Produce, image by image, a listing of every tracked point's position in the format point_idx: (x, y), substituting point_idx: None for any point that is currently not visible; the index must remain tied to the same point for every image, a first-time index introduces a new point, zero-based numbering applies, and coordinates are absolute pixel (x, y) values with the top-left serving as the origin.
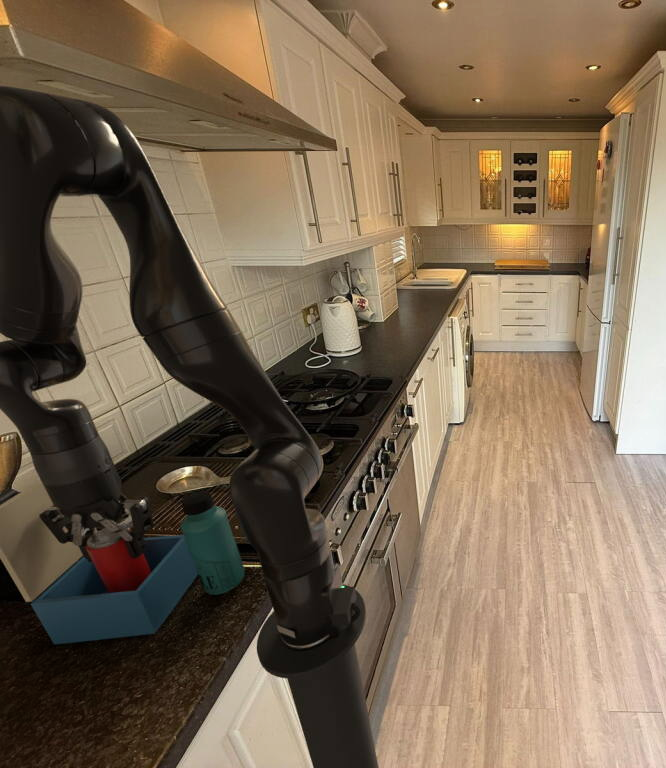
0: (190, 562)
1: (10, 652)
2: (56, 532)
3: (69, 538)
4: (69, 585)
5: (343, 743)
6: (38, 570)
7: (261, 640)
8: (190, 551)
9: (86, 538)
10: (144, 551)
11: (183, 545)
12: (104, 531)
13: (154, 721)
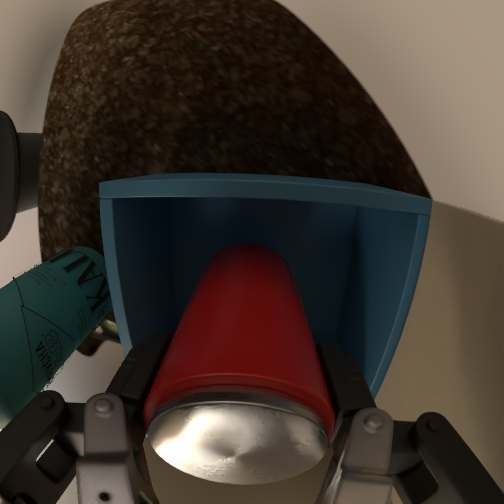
0: None
1: (424, 186)
2: (460, 463)
3: (411, 438)
4: (385, 287)
5: None
6: (468, 291)
7: (9, 150)
8: (21, 310)
9: (344, 442)
10: None
11: None
12: (276, 468)
13: (92, 34)
